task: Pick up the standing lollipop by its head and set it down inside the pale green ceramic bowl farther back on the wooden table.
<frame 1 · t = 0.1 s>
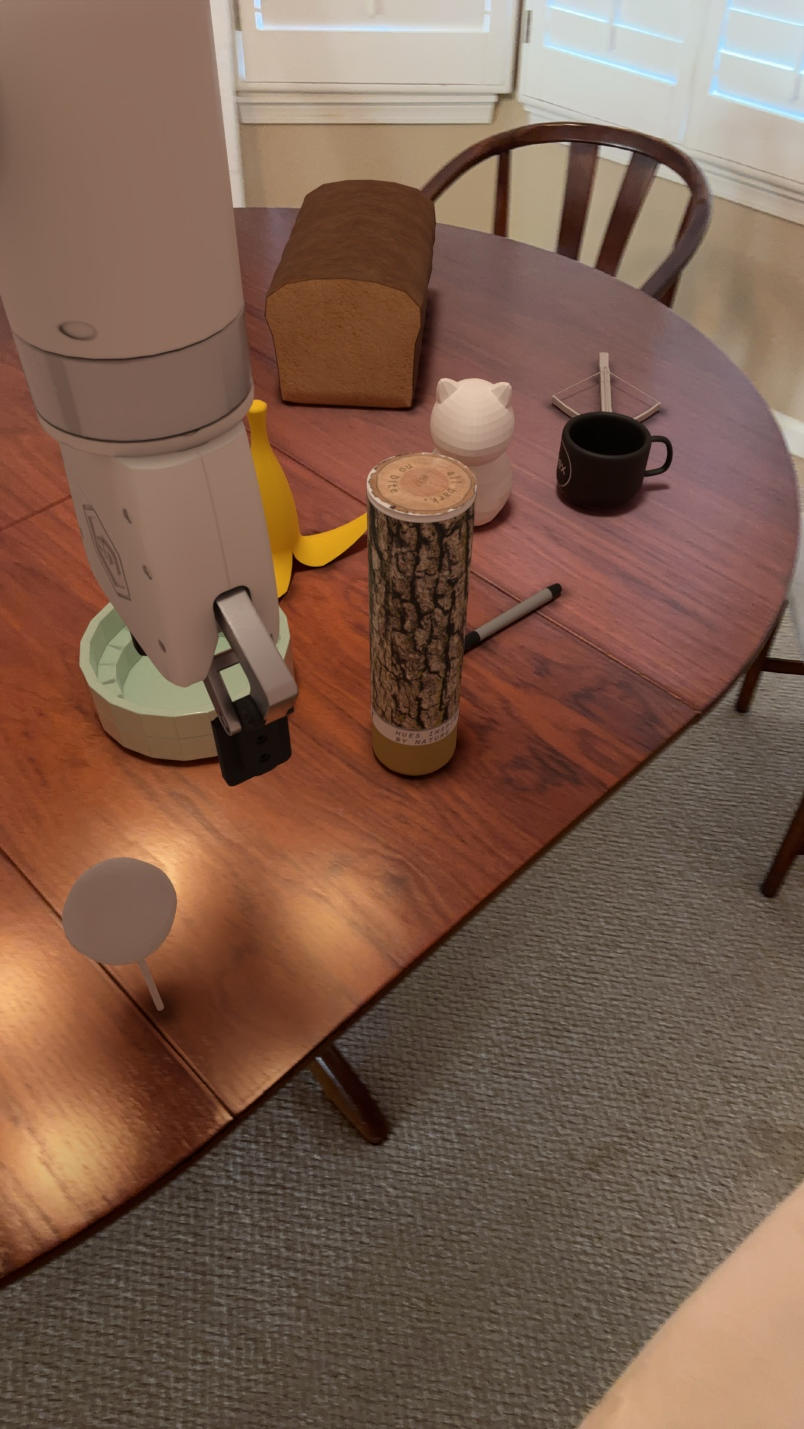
hand: (210, 702, 45), 25 cm above the table, tool pointing down, fingers open, 9 cm apart
cat figurine: (466, 505, 99), on the table
bread: (359, 350, 121), on the table
banana peel: (297, 556, 93), on the table, touching bowl
paper tube: (413, 748, 76), on the table
bowl: (196, 690, 80), on the table
pen: (496, 630, 86), on the table
mug: (609, 493, 101), on the table
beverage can: (180, 263, 139), on the table
crossbow: (603, 398, 114), on the table
lollipop: (160, 1008, 61), on the table
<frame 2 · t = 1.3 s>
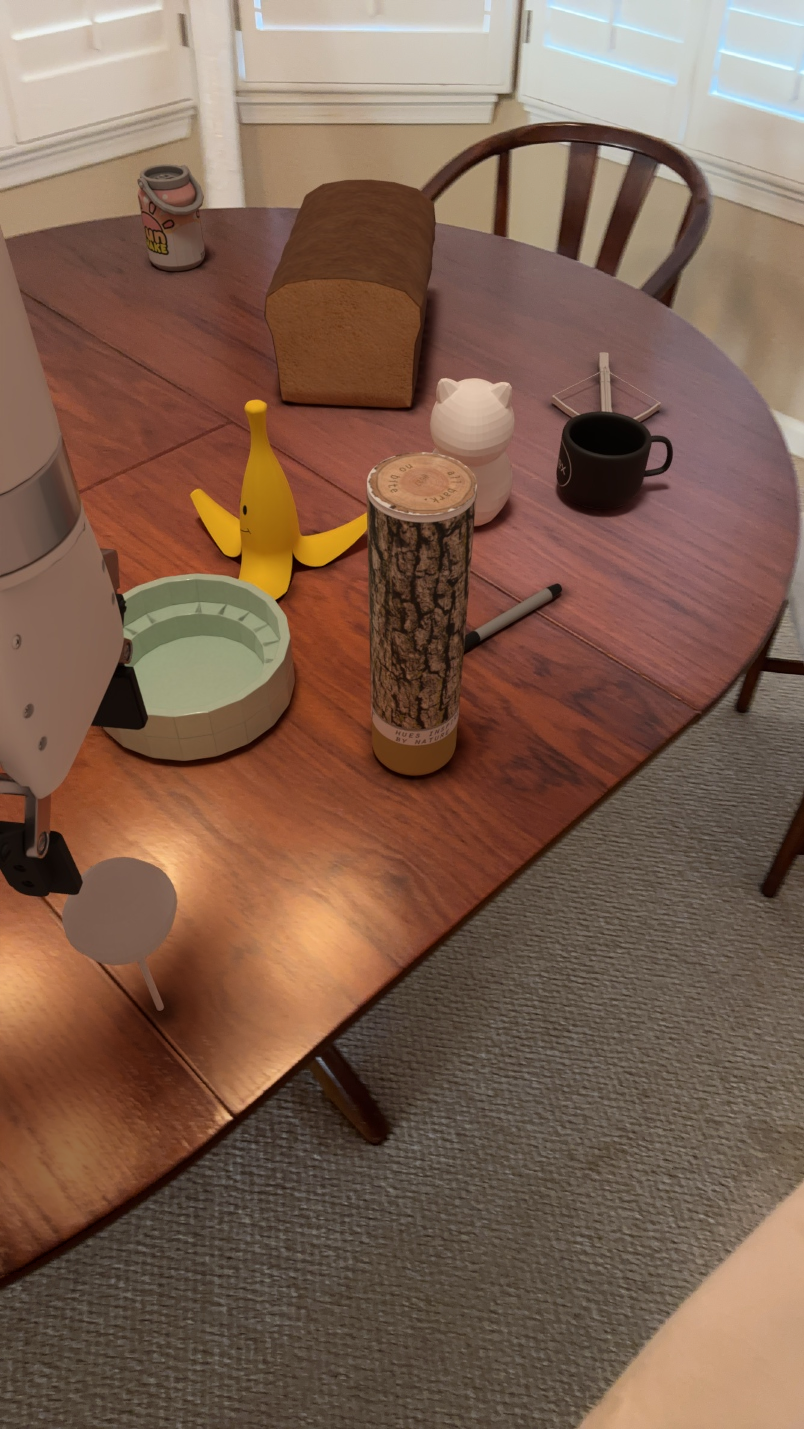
hand: (85, 799, 45), 22 cm above the table, tool pointing down, fingers open, 9 cm apart
nothing on the table moved.
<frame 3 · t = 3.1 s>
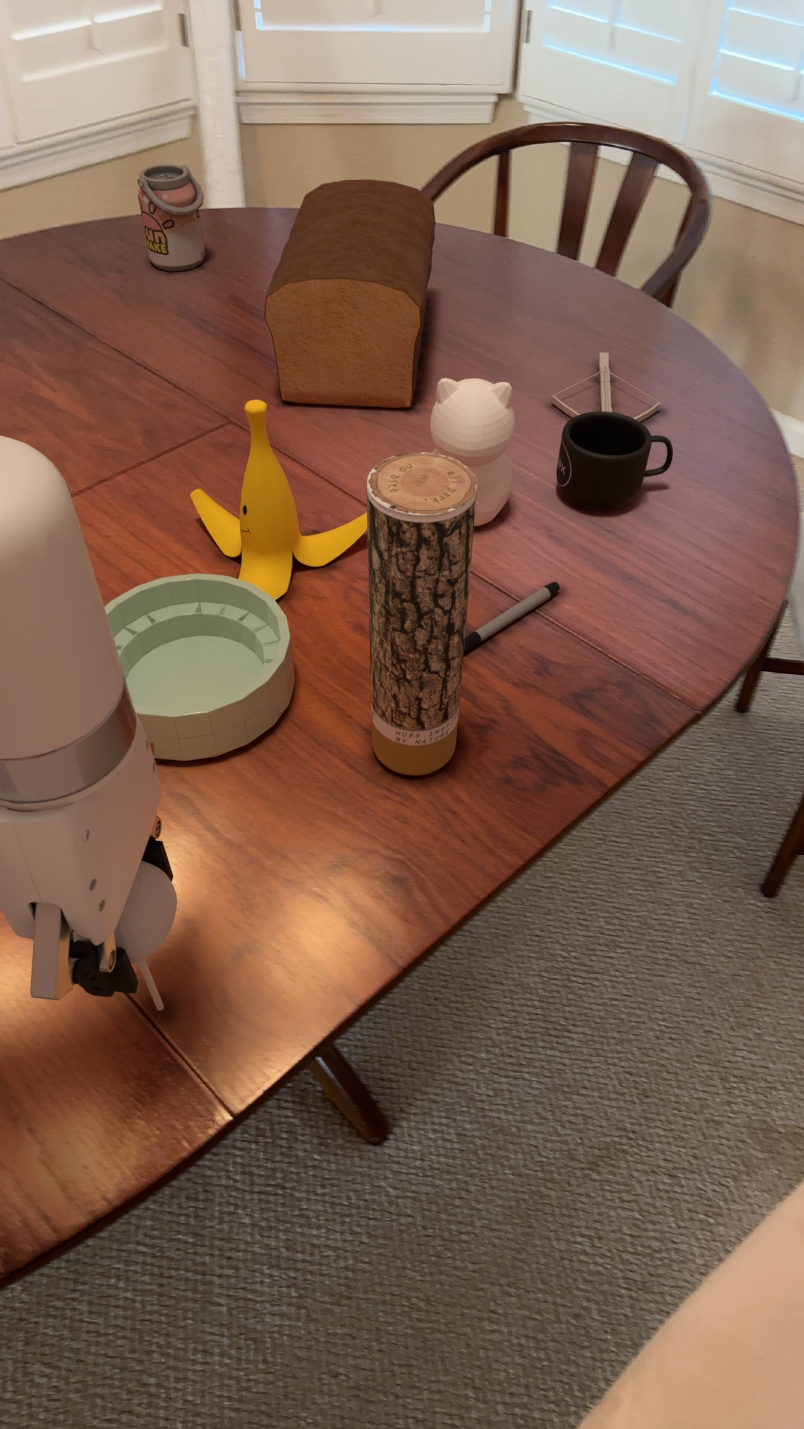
hand: (128, 929, 54), 10 cm above the table, tool pointing down, fingers closed on lollipop, 6 cm apart
lollipop: (160, 1008, 61), on the table, touching gripper
everything else where it was.
when the fingers open (11 cm above the table, at t = 10.8 s): lollipop stays where it is, resting on bowl.
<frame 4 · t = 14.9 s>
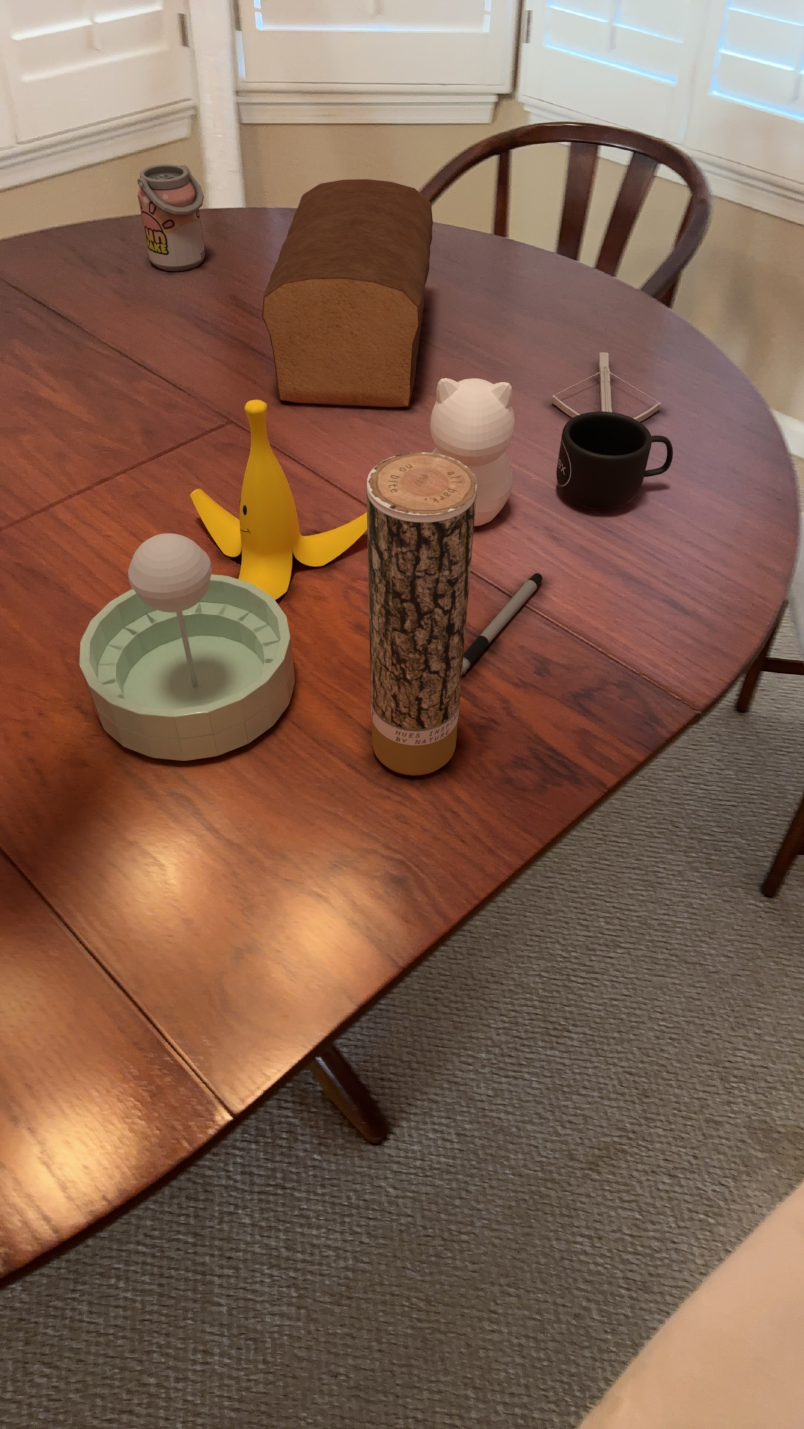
lollipop: (195, 686, 80), point 1 cm above the table, touching bowl
at the end: lollipop inside the target area in the bowl (0.1 cm from its centre), point 0.6 cm above the bowl's base; the gripper is holding nothing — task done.
